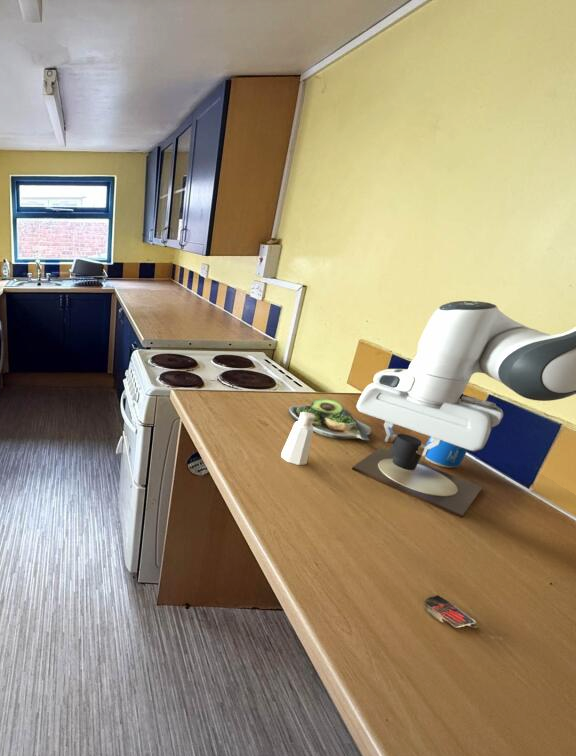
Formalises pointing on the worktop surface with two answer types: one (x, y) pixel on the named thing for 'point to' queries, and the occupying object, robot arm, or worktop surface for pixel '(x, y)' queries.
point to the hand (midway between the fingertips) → (404, 448)
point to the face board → (421, 482)
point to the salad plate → (332, 420)
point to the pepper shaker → (299, 440)
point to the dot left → (407, 462)
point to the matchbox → (448, 612)
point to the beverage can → (446, 454)
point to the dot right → (405, 447)
